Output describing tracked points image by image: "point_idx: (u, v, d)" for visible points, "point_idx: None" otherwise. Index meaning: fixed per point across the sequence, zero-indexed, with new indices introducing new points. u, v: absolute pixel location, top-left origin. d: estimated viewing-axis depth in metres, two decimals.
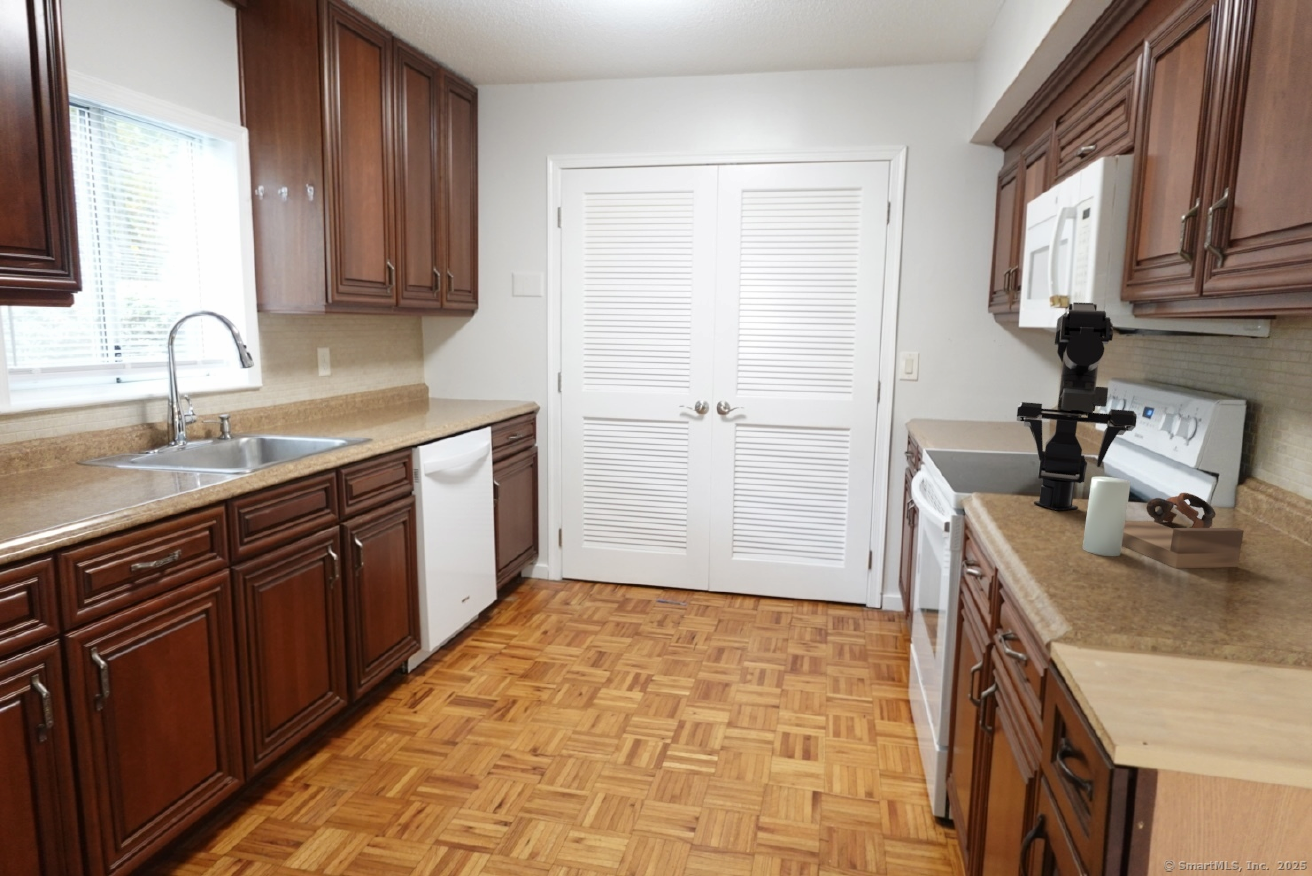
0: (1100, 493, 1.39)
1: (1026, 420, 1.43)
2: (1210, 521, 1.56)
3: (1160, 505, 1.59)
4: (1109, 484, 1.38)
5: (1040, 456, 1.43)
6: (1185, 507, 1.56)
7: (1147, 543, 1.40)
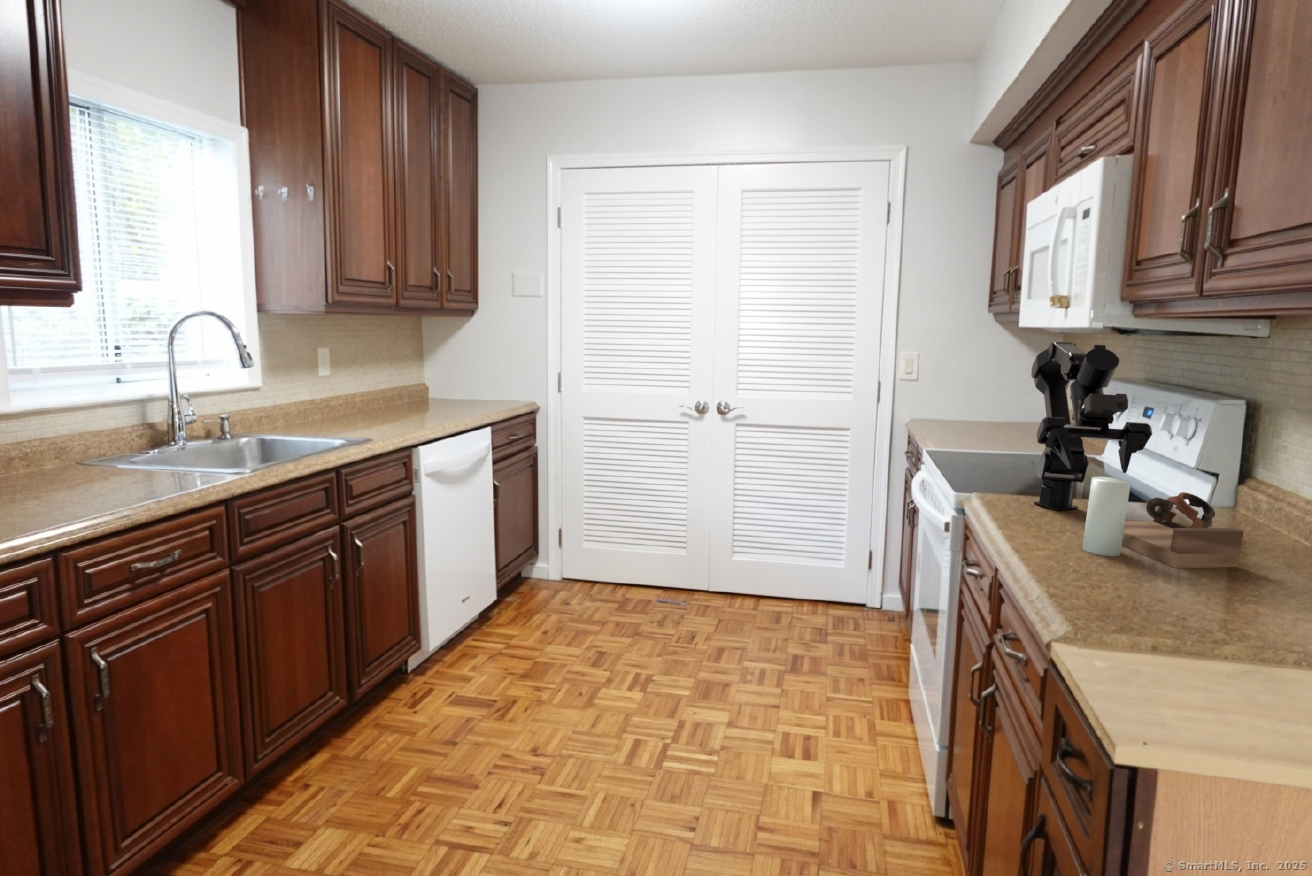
0: (1100, 493, 1.39)
1: (1053, 429, 1.51)
2: (1210, 521, 1.56)
3: (1160, 505, 1.59)
4: (1109, 484, 1.38)
5: (1070, 462, 1.49)
6: (1184, 507, 1.56)
7: (1147, 543, 1.40)
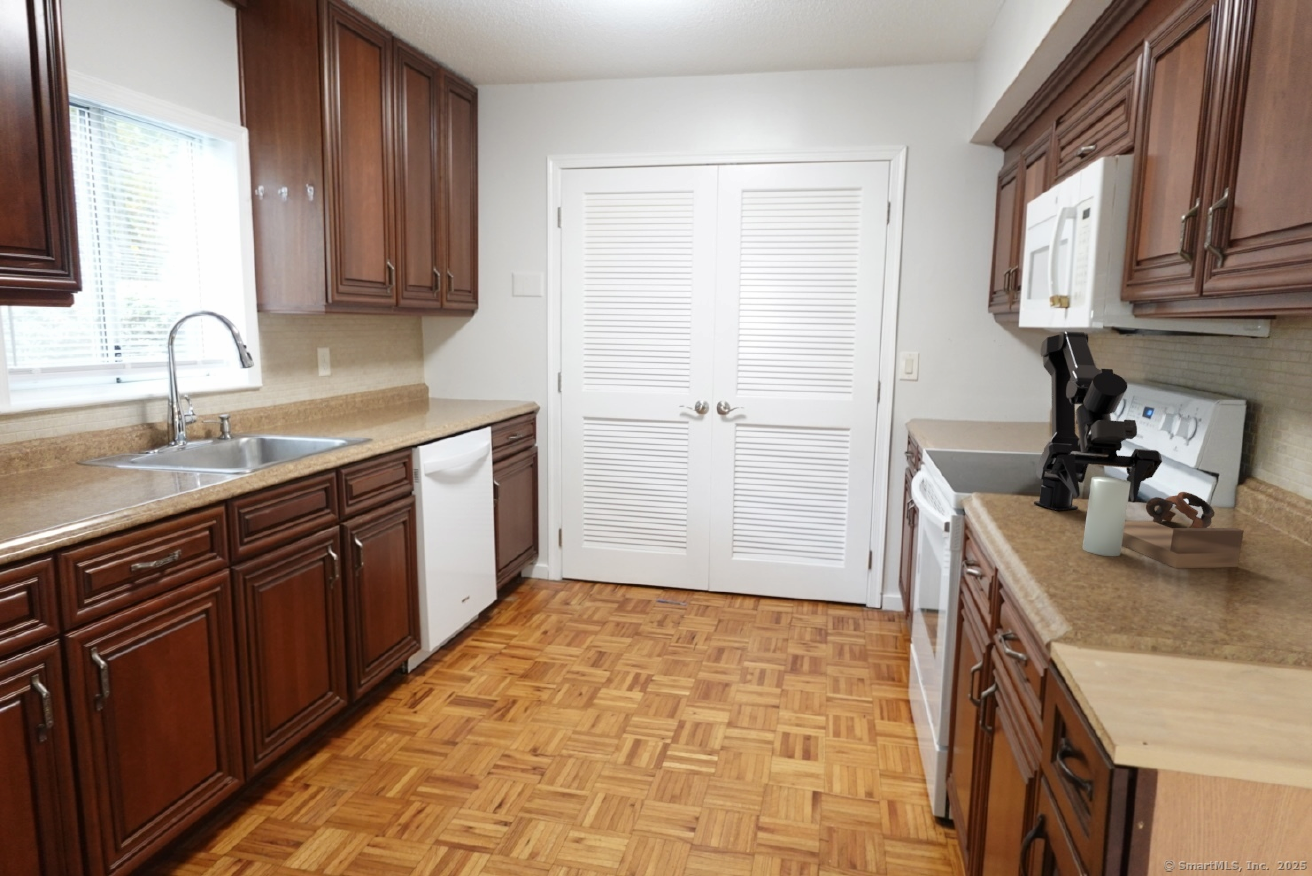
0: (1100, 493, 1.39)
1: (1059, 456, 1.46)
2: (1209, 520, 1.57)
3: (1159, 504, 1.59)
4: (1109, 484, 1.38)
5: (1077, 491, 1.43)
6: (1184, 506, 1.57)
7: (1147, 543, 1.40)
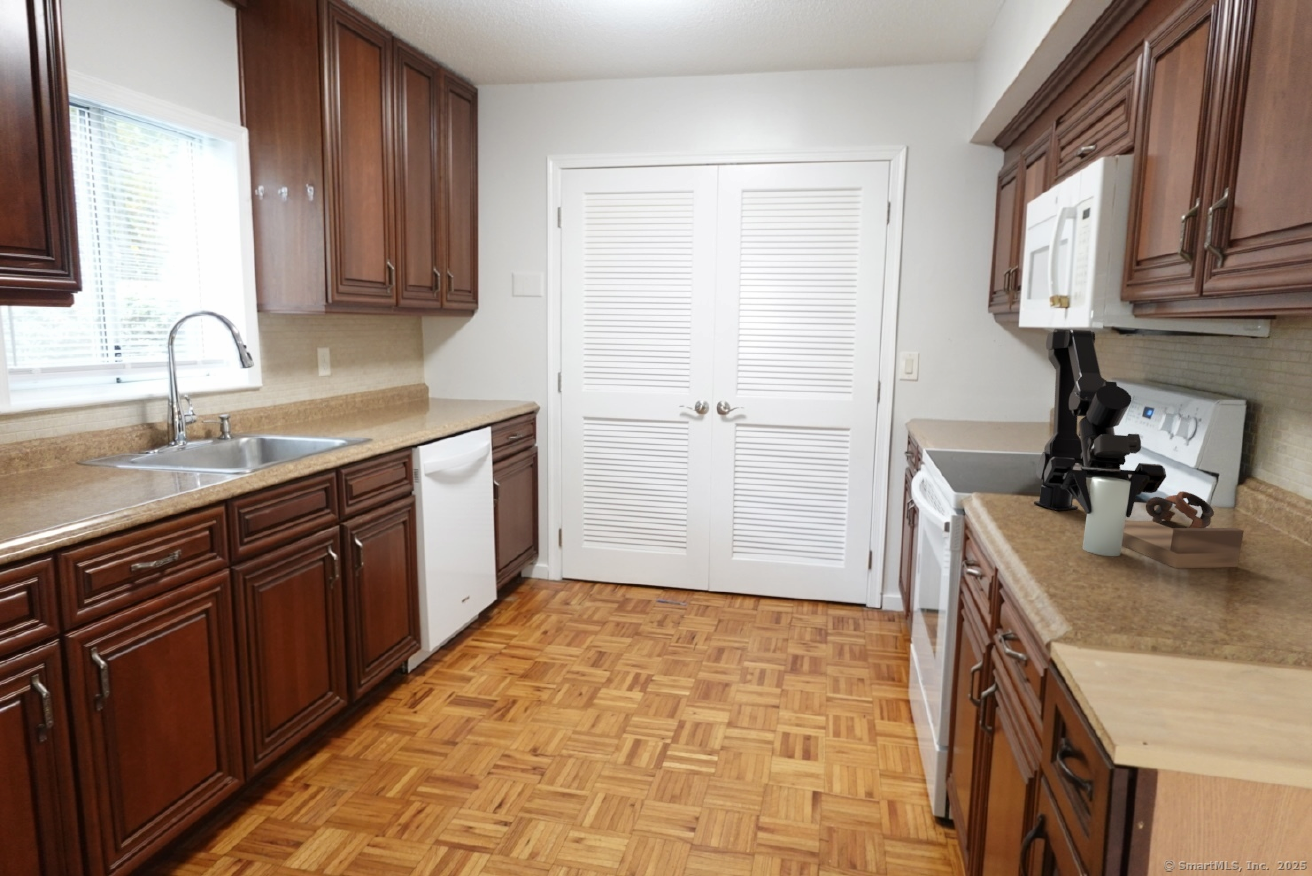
0: (1100, 493, 1.39)
1: (1071, 471, 1.43)
2: (1209, 520, 1.57)
3: (1159, 504, 1.60)
4: (1109, 484, 1.38)
5: (1089, 507, 1.41)
6: (1184, 506, 1.57)
7: (1147, 543, 1.40)
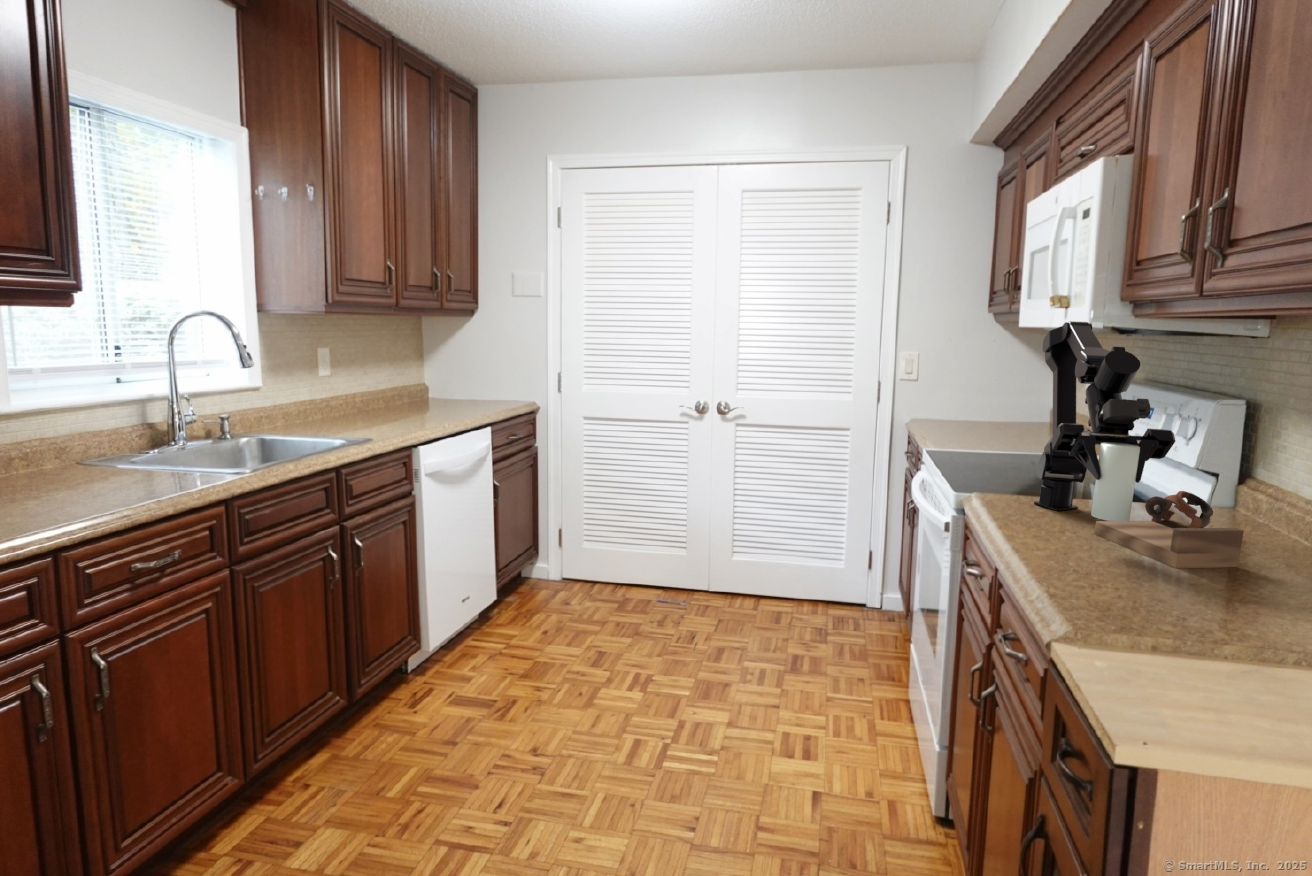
0: (1109, 458, 1.38)
1: (1079, 437, 1.42)
2: (1208, 519, 1.58)
3: (1159, 503, 1.60)
4: (1119, 449, 1.37)
5: (1098, 472, 1.39)
6: (1183, 505, 1.58)
7: (1147, 543, 1.40)
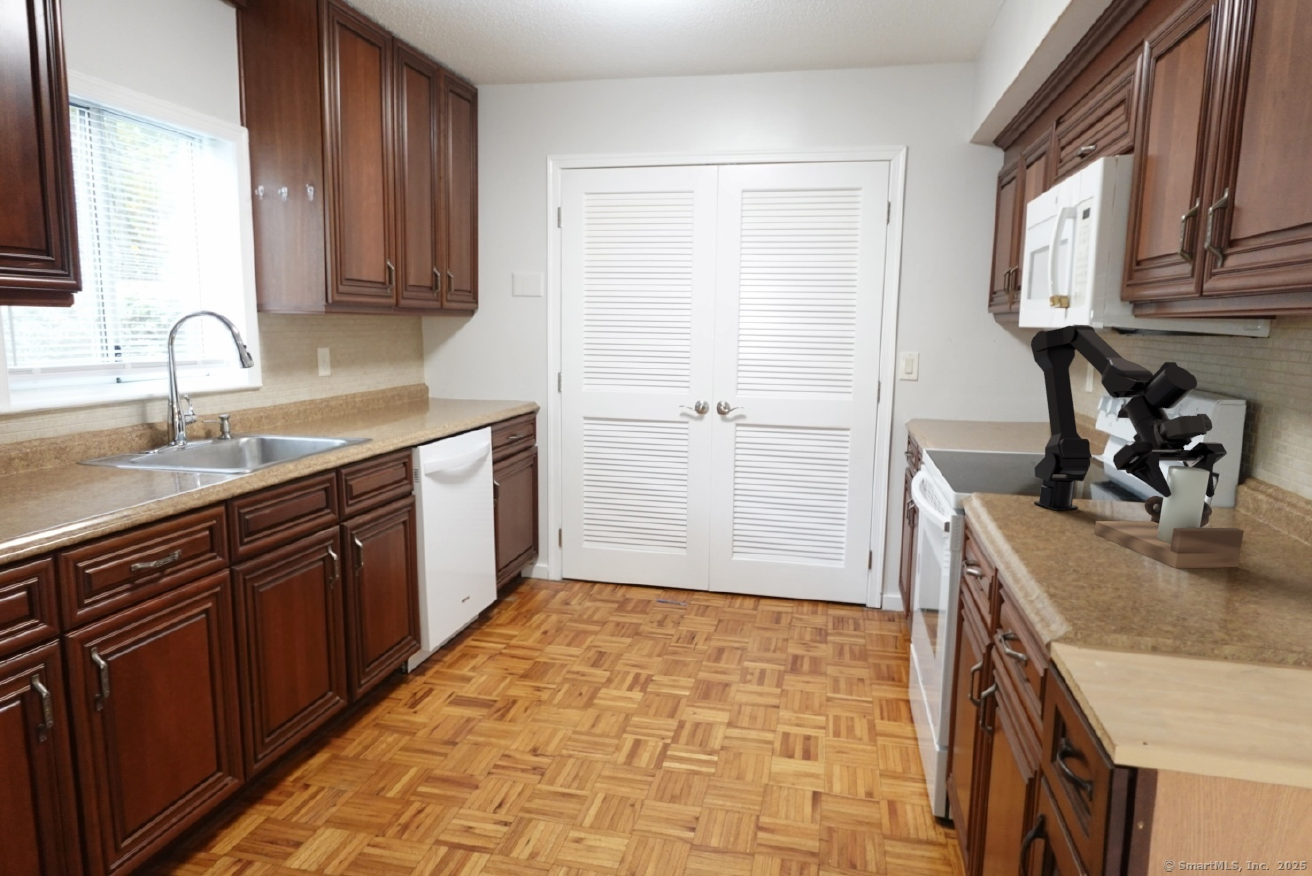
0: (1186, 484, 1.37)
1: (1146, 455, 1.39)
2: (1207, 518, 1.58)
3: (1158, 503, 1.61)
4: (1196, 474, 1.36)
5: (1168, 490, 1.38)
6: None
7: (1147, 543, 1.40)
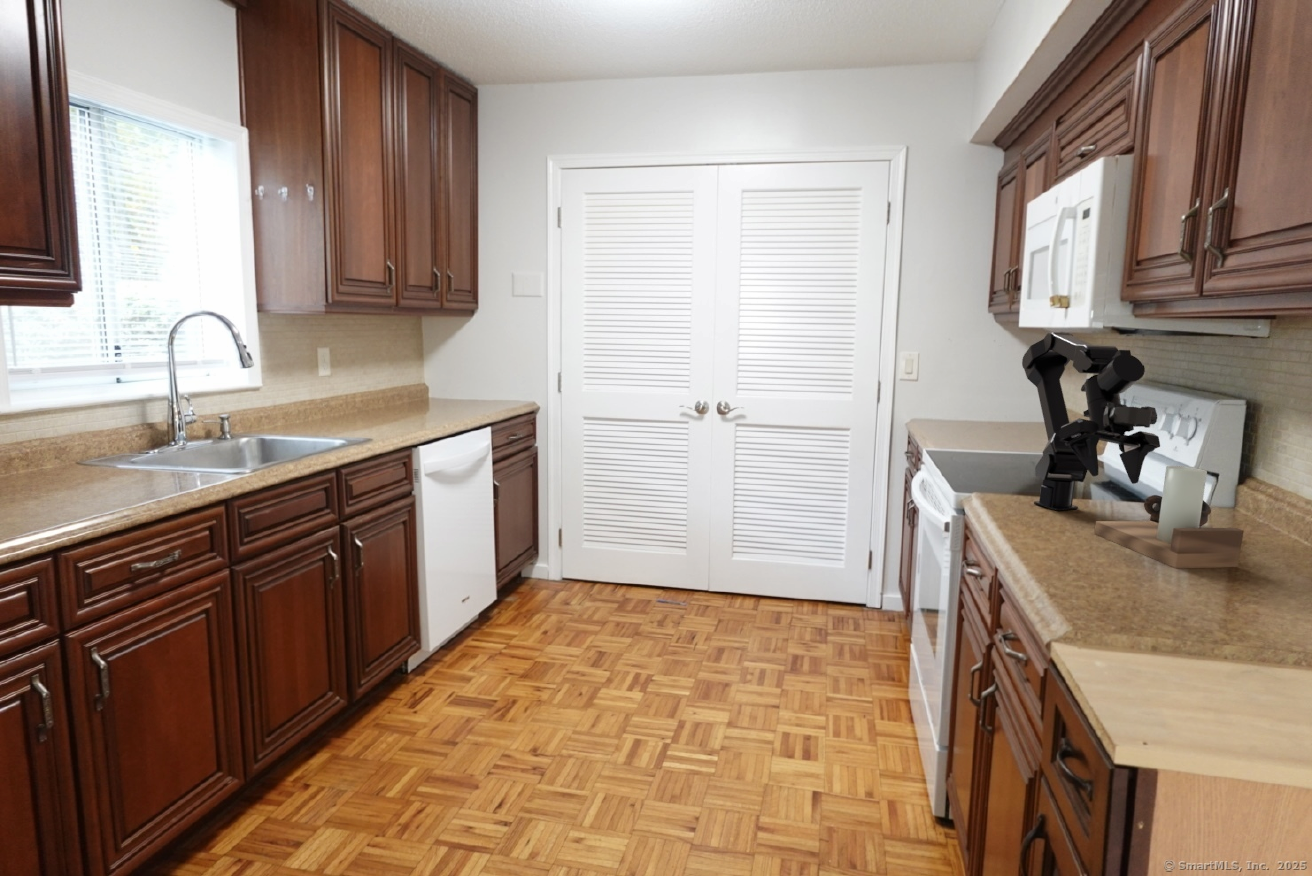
0: (1183, 483, 1.38)
1: (1088, 434, 1.48)
2: (1206, 517, 1.59)
3: (1158, 502, 1.61)
4: (1193, 473, 1.37)
5: (1097, 471, 1.48)
6: None
7: (1147, 543, 1.40)
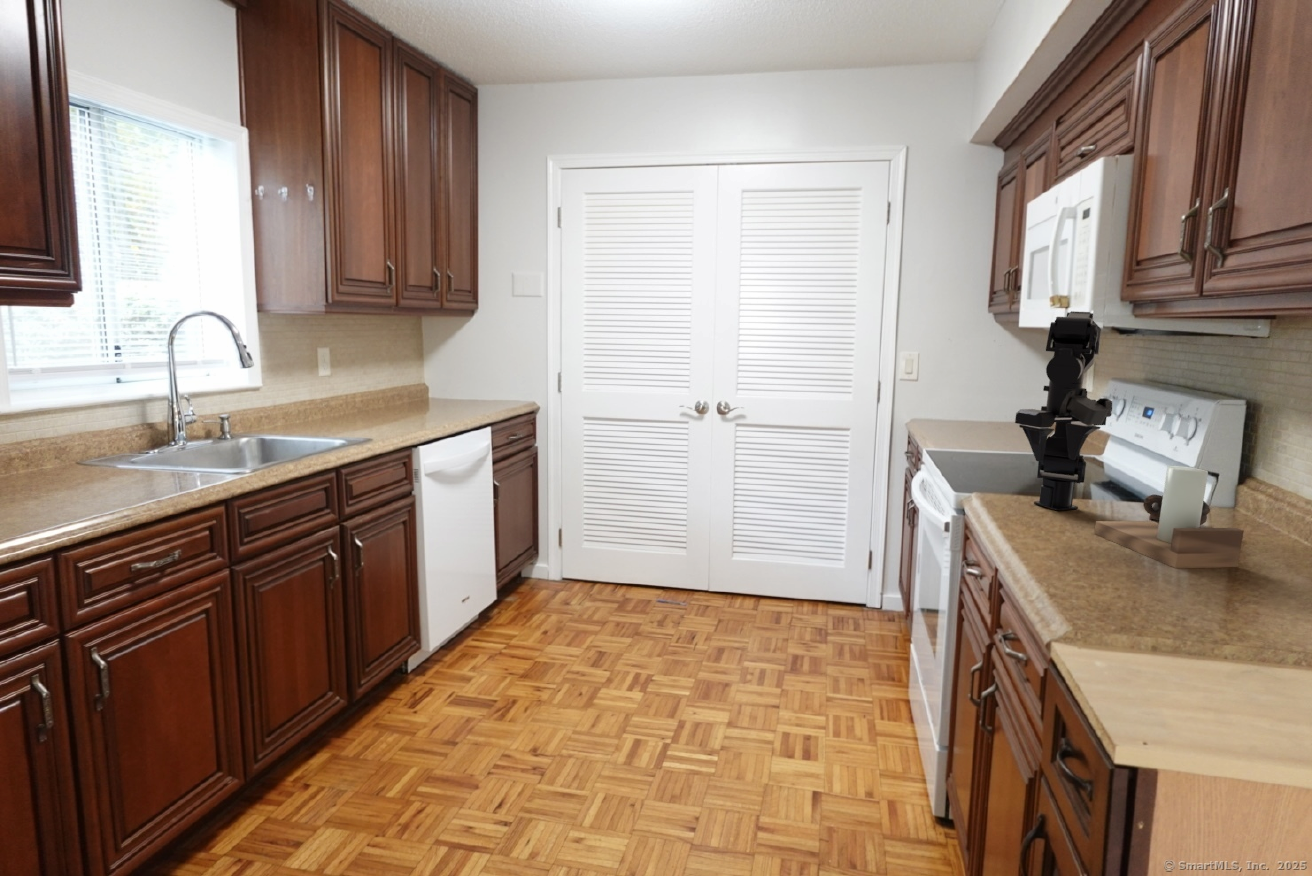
0: (1184, 483, 1.38)
1: (1043, 430, 1.51)
2: (1205, 516, 1.60)
3: (1157, 501, 1.62)
4: (1194, 473, 1.37)
5: (1041, 458, 1.55)
6: None
7: (1147, 543, 1.40)
